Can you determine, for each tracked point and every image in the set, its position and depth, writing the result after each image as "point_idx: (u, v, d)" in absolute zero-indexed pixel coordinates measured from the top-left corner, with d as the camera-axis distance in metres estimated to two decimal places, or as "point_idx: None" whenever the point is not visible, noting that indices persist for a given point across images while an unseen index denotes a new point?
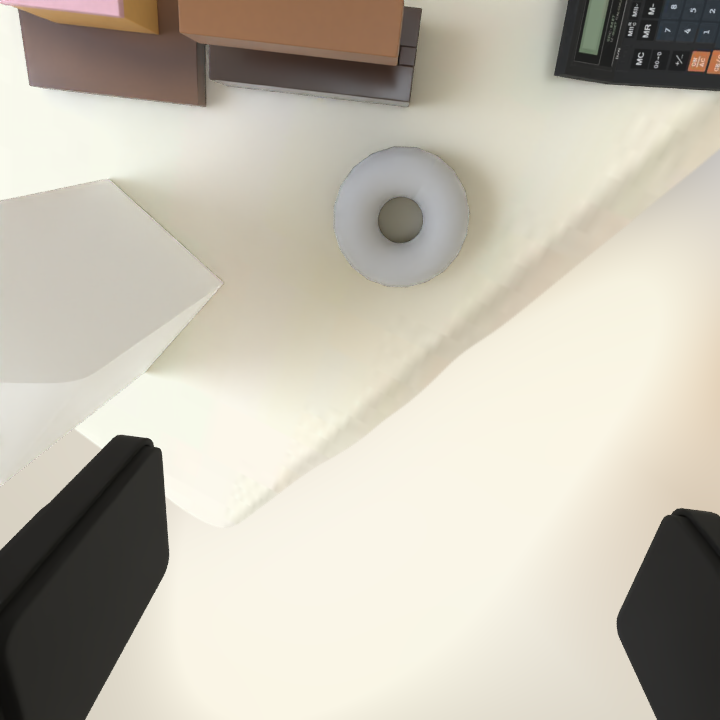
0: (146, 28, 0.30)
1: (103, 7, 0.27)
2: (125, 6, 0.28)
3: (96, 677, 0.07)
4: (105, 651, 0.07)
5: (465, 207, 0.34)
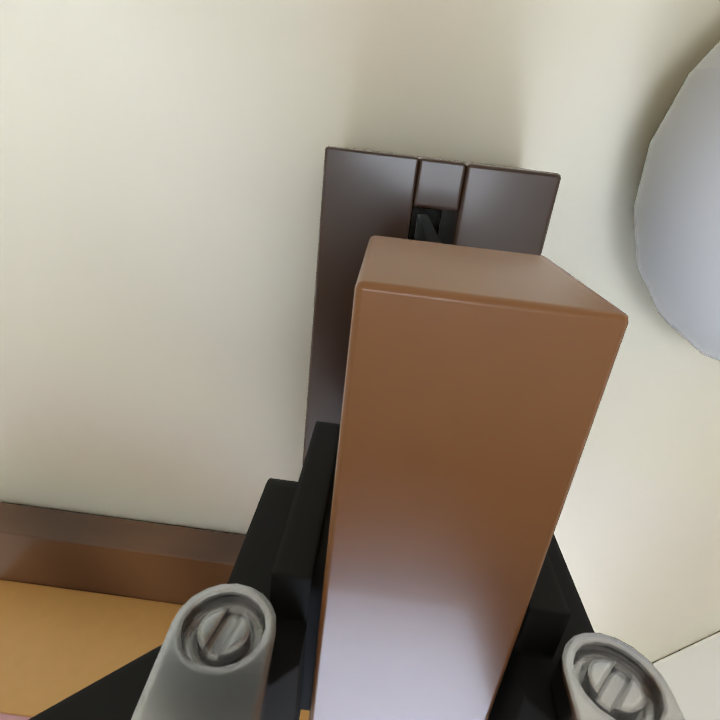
0: None
1: None
2: None
3: None
4: None
5: None
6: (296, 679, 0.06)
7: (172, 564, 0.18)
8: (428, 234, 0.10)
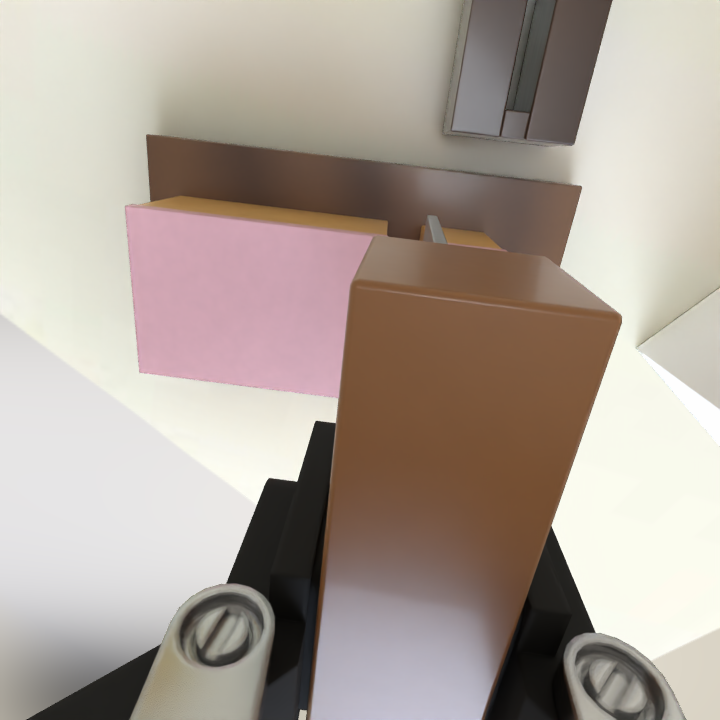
0: (490, 239, 0.21)
1: None
2: (489, 247, 0.19)
3: None
4: None
5: None
6: (295, 679, 0.06)
7: (331, 166, 0.22)
8: (435, 235, 0.10)
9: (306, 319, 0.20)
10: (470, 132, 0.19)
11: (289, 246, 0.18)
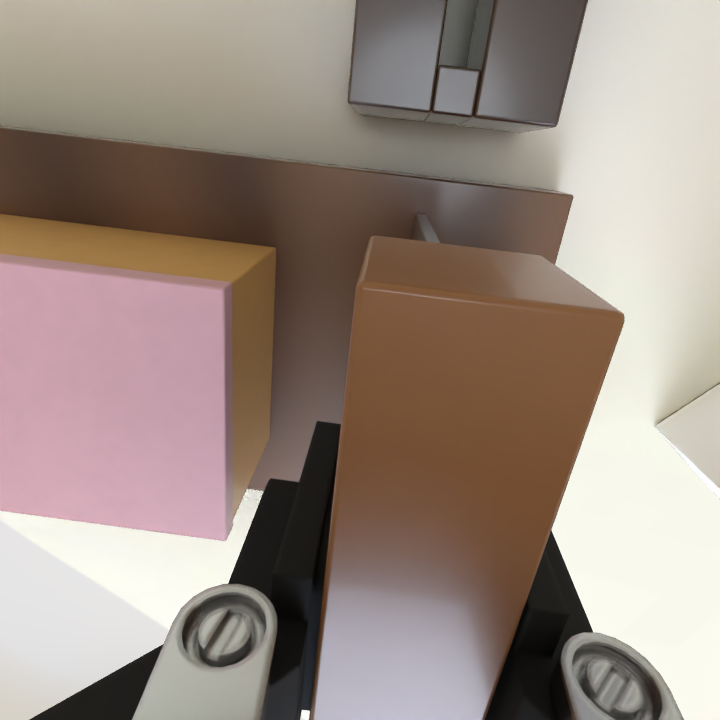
0: None
1: None
2: None
3: None
4: None
5: None
6: (297, 679, 0.06)
7: (182, 164, 0.14)
8: (427, 234, 0.10)
9: (109, 419, 0.12)
10: (381, 105, 0.11)
11: (58, 302, 0.11)
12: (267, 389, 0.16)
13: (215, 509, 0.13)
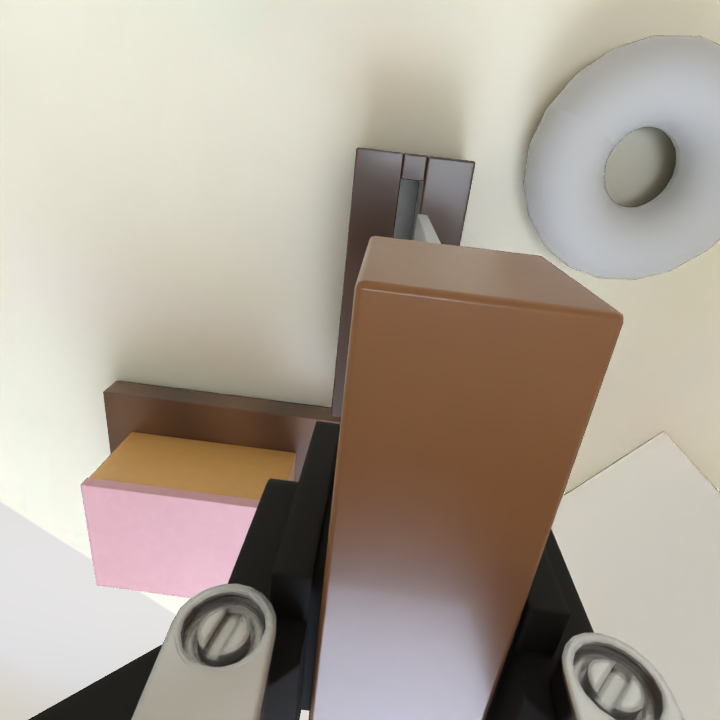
0: None
1: None
2: None
3: None
4: None
5: (651, 44, 0.19)
6: (296, 679, 0.06)
7: (249, 416, 0.28)
8: (428, 234, 0.10)
9: (222, 557, 0.26)
10: None
11: (205, 513, 0.24)
12: None
13: None
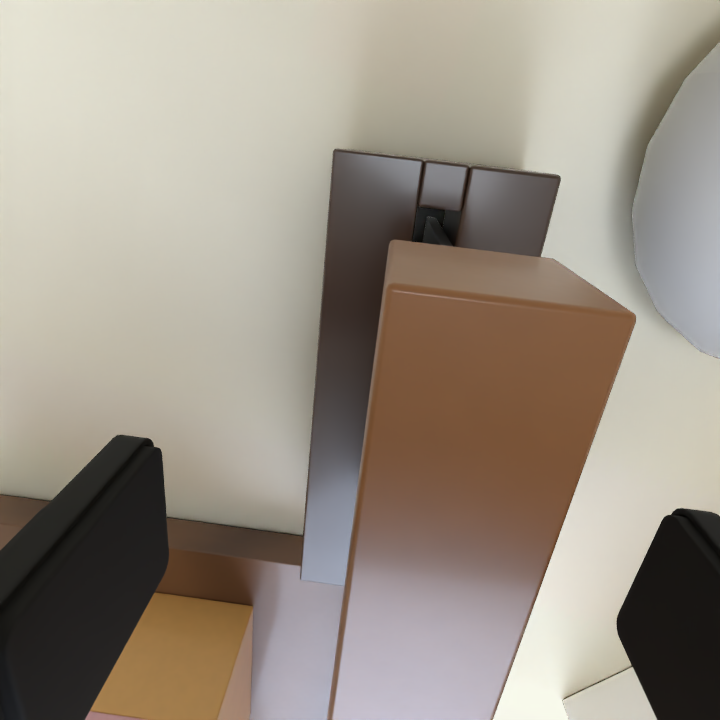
0: None
1: None
2: None
3: (96, 677, 0.07)
4: (105, 651, 0.07)
5: None
6: None
7: (180, 556, 0.18)
8: (439, 237, 0.11)
9: None
10: (324, 583, 0.16)
11: None
12: (247, 695, 0.20)
13: None
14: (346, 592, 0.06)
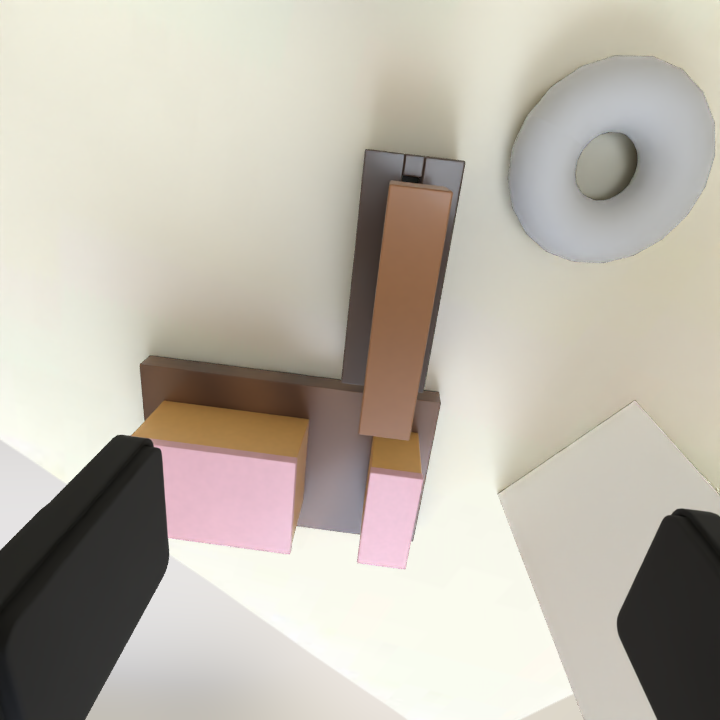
0: (419, 447, 0.31)
1: (415, 491, 0.28)
2: (412, 470, 0.28)
3: (96, 677, 0.07)
4: (105, 651, 0.07)
5: (612, 63, 0.22)
6: None
7: (268, 386, 0.32)
8: None
9: (245, 506, 0.29)
10: None
11: (232, 466, 0.28)
12: (303, 480, 0.34)
13: (286, 541, 0.30)
14: (376, 290, 0.19)
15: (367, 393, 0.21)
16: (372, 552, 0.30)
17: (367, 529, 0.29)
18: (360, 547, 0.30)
